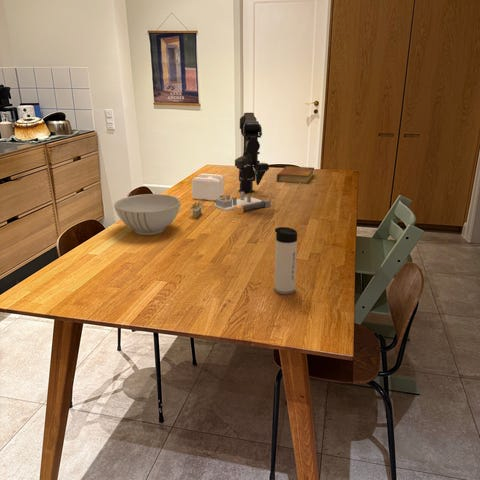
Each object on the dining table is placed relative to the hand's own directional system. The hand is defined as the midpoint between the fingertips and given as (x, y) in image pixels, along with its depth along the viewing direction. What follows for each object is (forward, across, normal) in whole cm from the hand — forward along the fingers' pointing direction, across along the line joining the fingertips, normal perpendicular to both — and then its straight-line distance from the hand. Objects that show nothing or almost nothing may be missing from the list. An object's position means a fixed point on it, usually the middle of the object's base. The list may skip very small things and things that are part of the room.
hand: (251, 183), depth 215 cm
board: (+12, -11, +1) cm, 17 cm away
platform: (+14, -8, -26) cm, 30 cm away
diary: (+11, -34, +62) cm, 72 cm away
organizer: (+12, -30, -4) cm, 33 cm away
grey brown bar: (+13, 0, +1) cm, 13 cm away
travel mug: (+17, +72, -45) cm, 86 cm away
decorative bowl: (+14, -3, -52) cm, 54 cm away
